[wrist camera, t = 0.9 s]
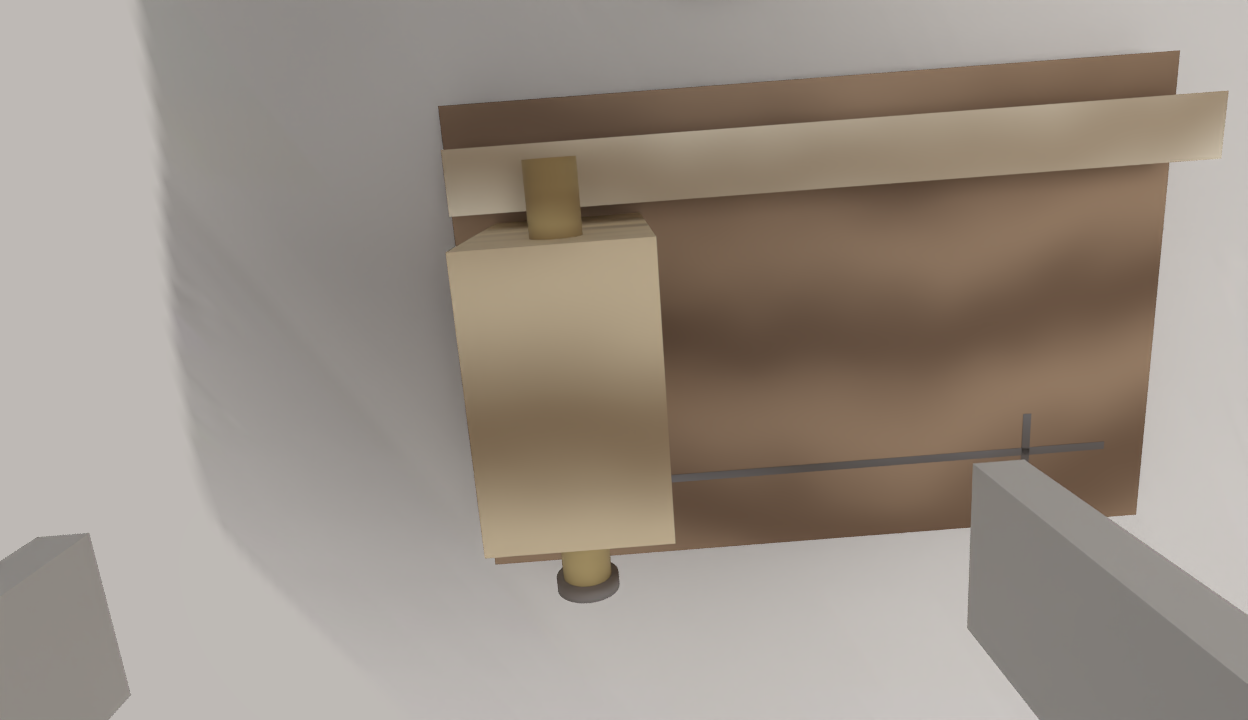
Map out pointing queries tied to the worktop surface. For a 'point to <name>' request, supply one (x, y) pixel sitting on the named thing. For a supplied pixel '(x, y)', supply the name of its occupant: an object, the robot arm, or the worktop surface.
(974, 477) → the robot arm
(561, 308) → the marking gauge
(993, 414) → the walnut board
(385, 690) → the worktop surface
